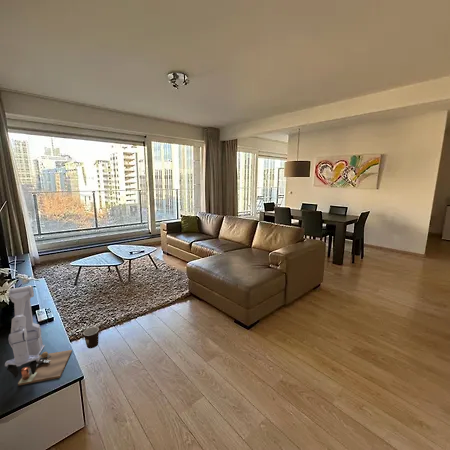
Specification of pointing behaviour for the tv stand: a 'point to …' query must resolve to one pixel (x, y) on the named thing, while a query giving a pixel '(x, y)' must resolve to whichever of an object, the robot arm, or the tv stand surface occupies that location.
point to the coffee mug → (91, 336)
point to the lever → (27, 372)
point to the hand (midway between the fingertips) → (25, 374)
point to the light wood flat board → (49, 367)
